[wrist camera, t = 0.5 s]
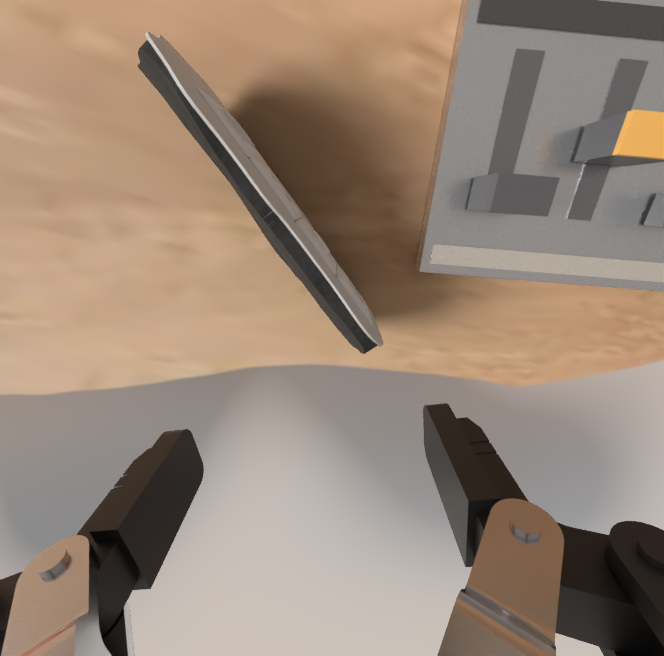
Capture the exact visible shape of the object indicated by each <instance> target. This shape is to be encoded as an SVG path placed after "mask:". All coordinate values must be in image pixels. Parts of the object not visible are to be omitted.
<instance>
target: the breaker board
mask: <svg viewBox="0 0 664 656" xmlns="http://www.w3.org/2000/svg"><path fill="white" fill-rule="evenodd" d="M632 110H644V111H655V112H664V0H462V5H461V10H460V16H459V22H458V27H457V33H456V38H455V44H454V50H453V55H452V61H451V67H450V72H449V78H448V84H447V89H446V95H445V101H444V106H443V112H442V118H441V123H440V129H439V135H438V140H437V146H436V152H435V157H434V163H433V169H432V174H431V180H430V186H429V191H428V197H427V203H426V208H425V214H424V220H423V225H422V231H421V237H420V242H419V248H418V254H417V259H416V265H415V269H417V270H418V271H419V272H428V273H441V274H453V275H466V276H478V277H491V278H503V279H515V280H528V281H540V282H553V283H565V284H578V285H590V286H602V287H615V288H627V289H640V290H652V291H664V227H656V226H644V222H645V220H646V217H647V215H648V213H649V210H650V208H651V206H652V203H653V201H654V199H655V196H656V194H657V193H664V162H658V163H650V164H642V165H634V166H626V167H625V166H614V165H602V164H591V163H580V162H574V159H575V156H576V153H577V150H578V147H579V144H580V141H581V138H582V134H583V131H584V128H585V125H587V124H590V123H593V122H596V121H600V120H603V119H606V118H609V117H612V116H616V115H619V114H622V113H625V112H628V111H632ZM499 172H501V173H512V174H524V175H535V176H547V177H558V178H560V179H559V183H558V186H557V189H556V192H555V195H554V198H553V202H552V205H551V208H550V211H549V214H548V217H546V216H531V215H515V214H503V213H491V212H480V211H468V210H467V207H468V203H469V198H470V194H471V189H472V185H473V180H474V177H478V176H483V175H488V174H494V173H499Z"/></svg>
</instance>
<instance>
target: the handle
mask: <svg viewBox="0 0 664 656" xmlns="http://www.w3.org/2000/svg"><path fill="white" fill-rule="evenodd" d="M559 179H560V178H558V177H547V176H535V175H524V174H512V173H501V172H499V173H494V174H488V175H483V176H478V177H474V180H473V185H472V189H471V194H470V198H469V203H468V207H467V210H468V211H480V212H491V213H503V214H515V215H531V216H546V217H548V214H549V211H550V208H551V205H552V202H553V198H554V195H555V192H556V189H557V186H558V183H559Z"/></svg>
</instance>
